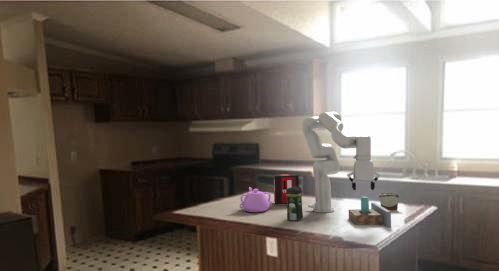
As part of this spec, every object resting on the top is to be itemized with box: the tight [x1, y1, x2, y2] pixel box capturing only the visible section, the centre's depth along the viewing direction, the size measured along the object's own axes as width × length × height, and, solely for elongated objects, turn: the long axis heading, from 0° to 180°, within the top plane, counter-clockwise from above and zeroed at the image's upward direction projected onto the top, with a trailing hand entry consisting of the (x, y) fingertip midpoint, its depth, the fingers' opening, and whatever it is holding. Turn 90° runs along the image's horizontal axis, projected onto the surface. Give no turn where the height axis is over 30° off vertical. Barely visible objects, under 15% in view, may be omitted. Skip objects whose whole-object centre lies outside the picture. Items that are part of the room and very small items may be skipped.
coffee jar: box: [286, 186, 304, 222], centre depth 196 cm, size 10×8×19 cm
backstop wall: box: [370, 202, 392, 228], centre depth 186 cm, size 2×24×8 cm, turn 179°
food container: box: [378, 192, 400, 211], centre depth 215 cm, size 12×6×10 cm, turn 84°
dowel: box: [360, 196, 370, 214], centre depth 186 cm, size 4×4×12 cm
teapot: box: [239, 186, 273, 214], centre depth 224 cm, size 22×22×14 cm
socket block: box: [348, 208, 383, 226], centre depth 186 cm, size 14×14×5 cm
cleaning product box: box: [273, 173, 300, 205], centre depth 241 cm, size 16×9×20 cm, turn 90°
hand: (363, 189), depth 187 cm, fingers open, 9 cm apart
